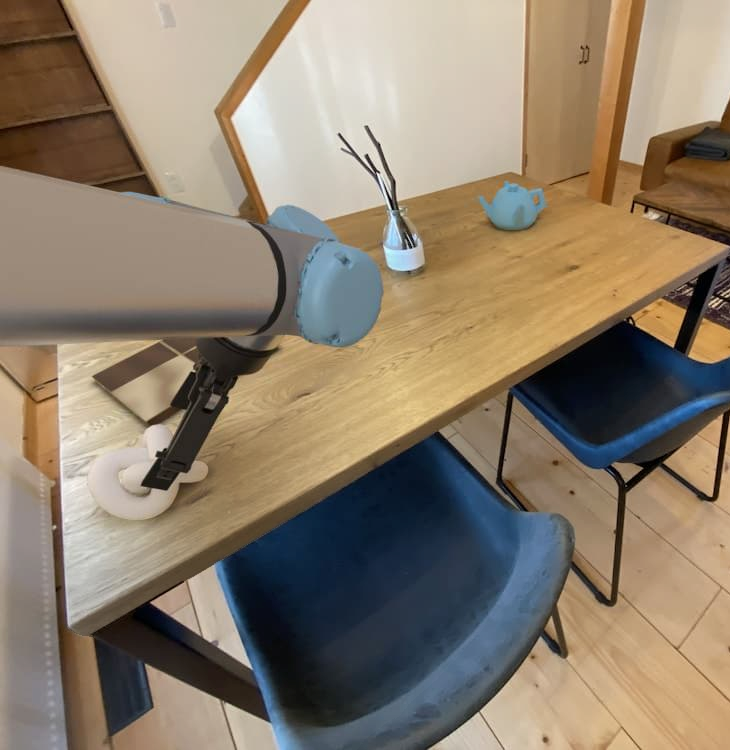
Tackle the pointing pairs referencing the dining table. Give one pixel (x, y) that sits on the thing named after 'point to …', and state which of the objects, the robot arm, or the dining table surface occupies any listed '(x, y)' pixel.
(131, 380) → the board
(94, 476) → the white knot sculpture
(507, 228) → the teapot
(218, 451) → the dining table surface
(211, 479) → the dining table surface
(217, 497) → the dining table surface
